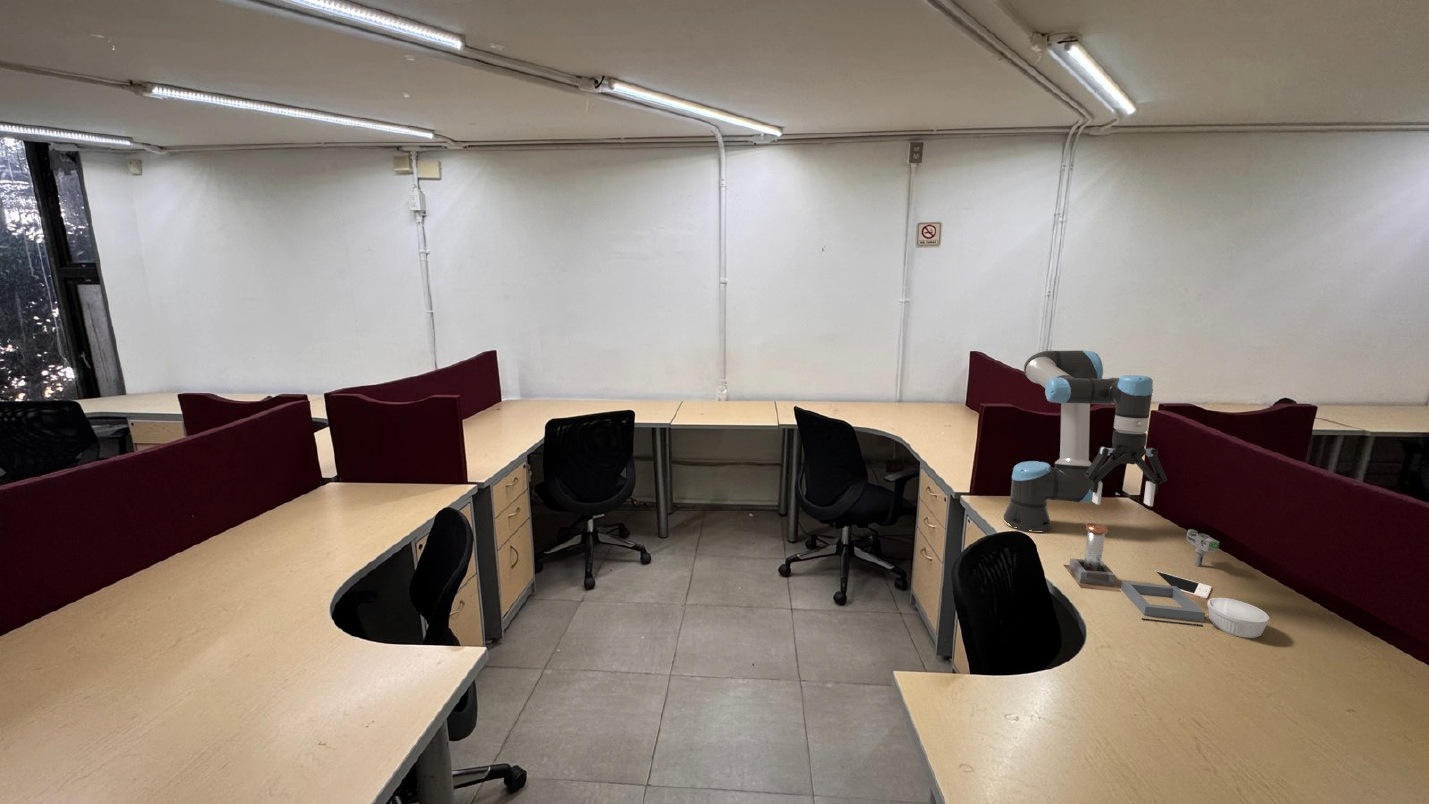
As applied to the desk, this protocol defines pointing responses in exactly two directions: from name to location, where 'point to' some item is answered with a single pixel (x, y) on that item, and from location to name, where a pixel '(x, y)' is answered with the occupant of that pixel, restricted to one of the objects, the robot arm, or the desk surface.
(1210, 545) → the mechanical component
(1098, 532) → the glass jar with lid
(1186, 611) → the tray
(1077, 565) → the block
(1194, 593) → the cell phone
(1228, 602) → the ramekin
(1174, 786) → the desk surface
